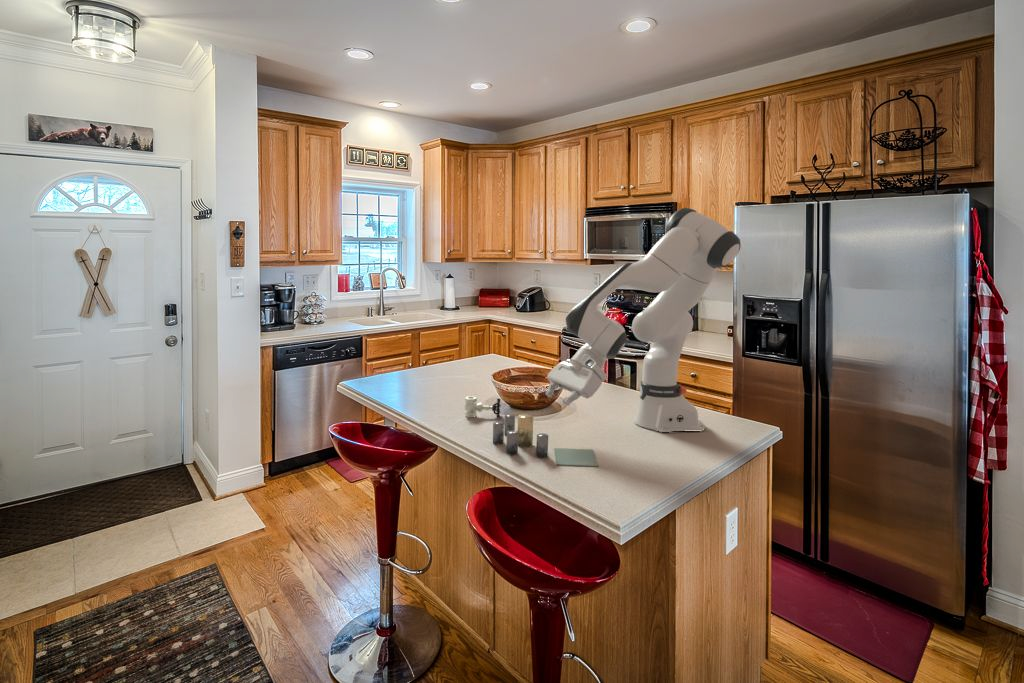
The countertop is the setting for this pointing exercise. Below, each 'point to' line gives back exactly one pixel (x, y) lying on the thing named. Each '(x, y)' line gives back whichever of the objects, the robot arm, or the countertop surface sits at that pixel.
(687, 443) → the countertop surface
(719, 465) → the countertop surface
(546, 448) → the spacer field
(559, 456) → the mat
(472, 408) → the valve
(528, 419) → the gold metal cylinder
